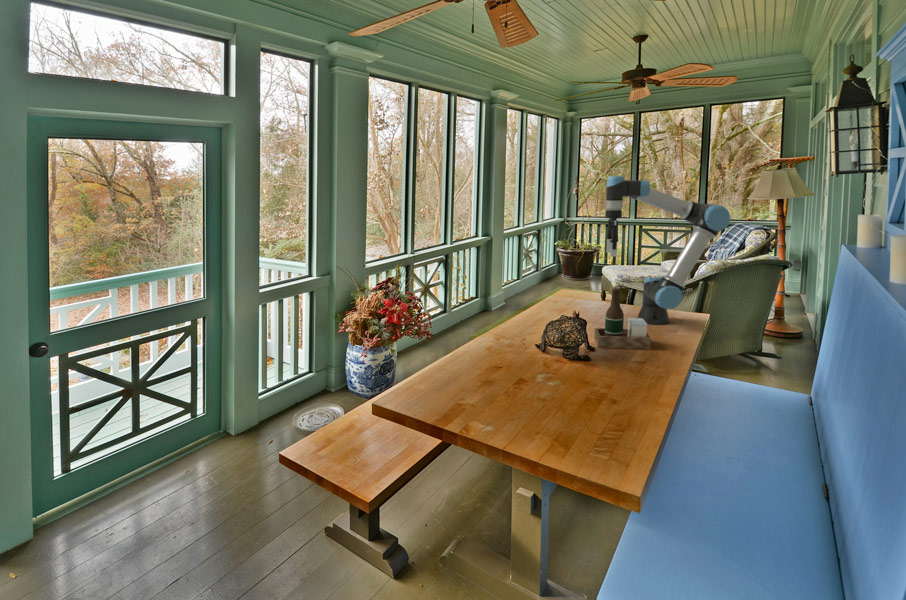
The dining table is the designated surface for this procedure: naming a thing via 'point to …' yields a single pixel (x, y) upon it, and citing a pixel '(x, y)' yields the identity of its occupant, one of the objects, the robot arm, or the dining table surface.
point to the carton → (637, 327)
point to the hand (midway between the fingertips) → (611, 254)
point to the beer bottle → (614, 316)
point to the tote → (620, 340)
